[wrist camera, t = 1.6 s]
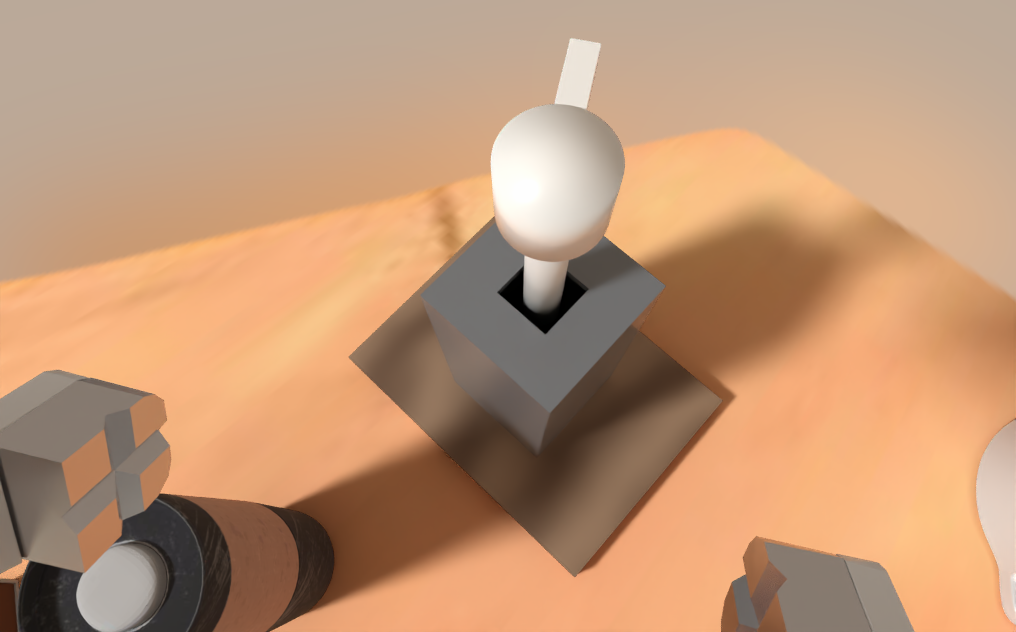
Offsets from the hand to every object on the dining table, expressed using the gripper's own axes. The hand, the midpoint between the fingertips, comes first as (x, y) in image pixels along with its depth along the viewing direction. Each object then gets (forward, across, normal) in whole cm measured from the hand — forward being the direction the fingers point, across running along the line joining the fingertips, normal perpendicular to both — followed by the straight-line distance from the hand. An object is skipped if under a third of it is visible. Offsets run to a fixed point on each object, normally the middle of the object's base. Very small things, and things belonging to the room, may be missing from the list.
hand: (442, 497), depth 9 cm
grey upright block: (+33, 0, +19) cm, 38 cm away
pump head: (+23, 0, +7) cm, 24 cm away
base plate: (+34, 0, +20) cm, 40 cm away
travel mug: (+23, +14, +31) cm, 41 cm away
